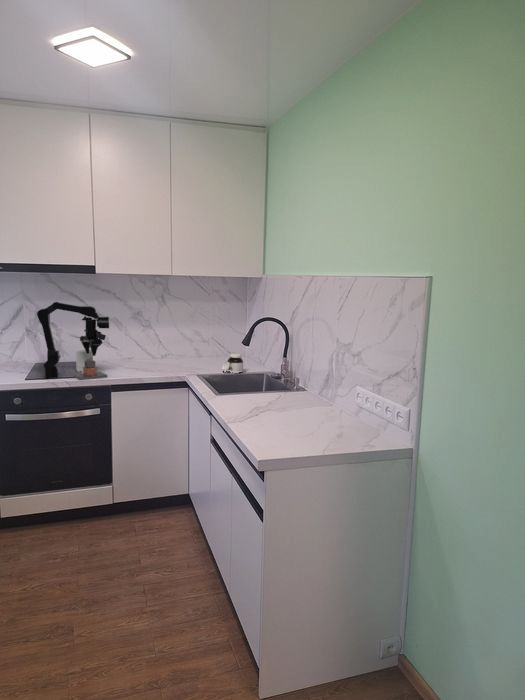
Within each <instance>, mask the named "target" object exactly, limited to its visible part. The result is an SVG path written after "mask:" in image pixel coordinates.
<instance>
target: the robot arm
mask: <svg viewBox="0 0 525 700" xmlns="http://www.w3.org/2000/svg"><path fill="white" fill-rule="evenodd" d="M56 310H61V311H66V312H72V313H77V314H80V315H83V316H84V317H82V319H81V321H85V329H84V330H83V331H84V333H85V335H81V336H79V341H80V343H81V344H82V346H83V348H84V349H83V350H85V351H86V353H87V354H89V350H91V351H92V354H93V357H96V355H97V351H98V349H99V347H100V346H102V344H103V341H105V340H106V337H107V335H106V334H103V333H102V332H101V331H98V329H110V317H109V316H100V315H99V314H98V313H97V309H96V308H95V307H94V306H92V305H90V306H89V305H87V306H86V305H85V306H83V305H75V304H69V303H63V302H59V301H55V302H52V304H51V305H48V306H47V307H46V308H41V309H39V310H38V311H37V312H36V316H37V318H38V321H39V323H40V325H41V327H42V332H43V334H44V335H43V336H44V340H45V344H46V347H47V352H46V353H47V355H46V357H47V360H46V361H45V362H44V363H43V375H42V377H43V378H45V379H53V378H55V377H56V378H59V376H58V375H59V373H58V370H59V369H58V367H57V366H56V365H57V364H58V363H59V361H60V359H61V354H60V350H59V349H56V346H55V341H54V337H53V333H52V328H51V314H52V313H54V312H55V311H56ZM97 327H98V329H97Z"/></svg>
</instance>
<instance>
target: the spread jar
mask: <svg viewBox="0 0 525 700" xmlns="http://www.w3.org/2000/svg"><path fill="white" fill-rule="evenodd" d="M229 356H230V357H229V358H228V359H227V362H224V363H223V364H222V367H221V370H222V369H225V371H227V372H229V371H228V370H231V371H241V370H243V371H244V360H243V358H242V355H241V354H240V353H231V354H229Z"/></svg>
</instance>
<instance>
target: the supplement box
mask: <svg viewBox="0 0 525 700" xmlns="http://www.w3.org/2000/svg"><path fill="white" fill-rule="evenodd" d="M75 357H76V359H75V360H76V361H75V362H76V363H75V364H76V369H75V370H77V371H76V372H80V371H82V372H81V373H83V367H85V361H91V360H93V361H94V356H93V354H92V351H91V349H89V354H87V353H86V351H85V349H81V350H77V351H76V352H75Z"/></svg>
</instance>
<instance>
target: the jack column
mask: <svg viewBox="0 0 525 700" xmlns="http://www.w3.org/2000/svg"><path fill="white" fill-rule="evenodd" d="M94 366H95V367H96V361H95V360H94V359H93V360H91V361H85V367H88V368H91V367H94Z"/></svg>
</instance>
